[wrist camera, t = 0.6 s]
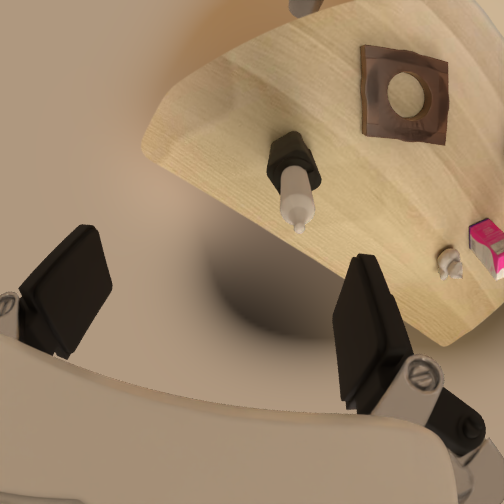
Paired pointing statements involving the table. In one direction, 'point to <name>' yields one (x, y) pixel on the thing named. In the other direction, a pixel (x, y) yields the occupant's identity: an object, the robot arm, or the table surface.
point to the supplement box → (488, 246)
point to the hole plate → (377, 104)
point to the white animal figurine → (450, 264)
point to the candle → (294, 179)
